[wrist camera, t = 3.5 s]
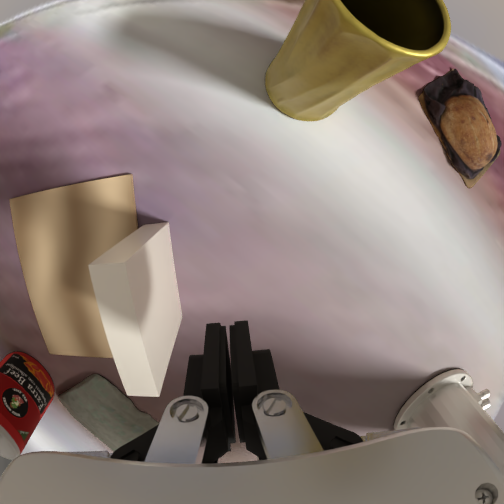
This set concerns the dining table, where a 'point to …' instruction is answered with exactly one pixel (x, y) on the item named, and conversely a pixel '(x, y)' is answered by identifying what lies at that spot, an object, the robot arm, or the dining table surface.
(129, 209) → the mat
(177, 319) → the tile
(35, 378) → the canned food
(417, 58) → the vase
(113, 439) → the stone slab
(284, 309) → the dining table surface
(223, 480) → the robot arm
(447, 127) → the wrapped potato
